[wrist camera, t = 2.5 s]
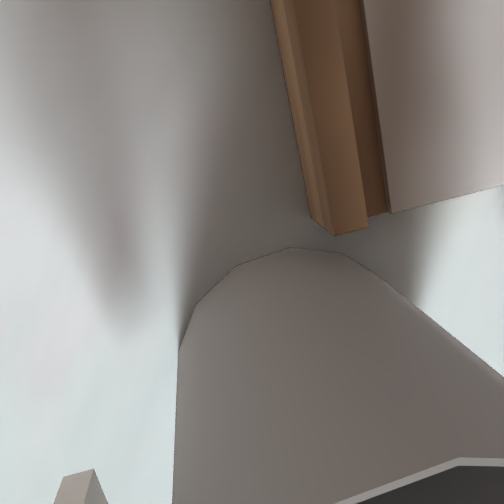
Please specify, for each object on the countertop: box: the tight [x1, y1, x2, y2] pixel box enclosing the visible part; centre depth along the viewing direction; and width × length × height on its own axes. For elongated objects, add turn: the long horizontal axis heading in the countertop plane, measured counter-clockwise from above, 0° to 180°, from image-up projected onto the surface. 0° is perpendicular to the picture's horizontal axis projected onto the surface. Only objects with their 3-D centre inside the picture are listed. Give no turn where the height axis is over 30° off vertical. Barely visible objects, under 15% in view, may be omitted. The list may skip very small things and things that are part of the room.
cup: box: [172, 248, 504, 504], centre depth 12 cm, size 8×8×10 cm
